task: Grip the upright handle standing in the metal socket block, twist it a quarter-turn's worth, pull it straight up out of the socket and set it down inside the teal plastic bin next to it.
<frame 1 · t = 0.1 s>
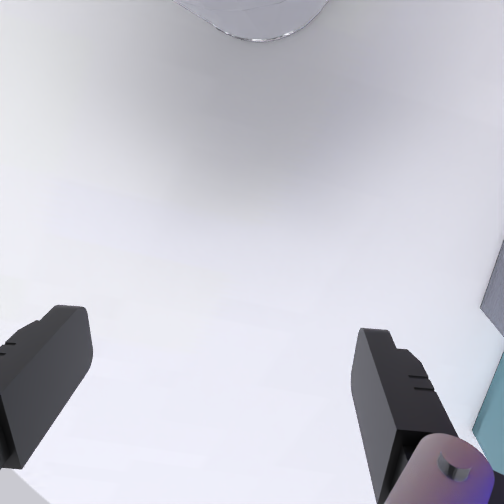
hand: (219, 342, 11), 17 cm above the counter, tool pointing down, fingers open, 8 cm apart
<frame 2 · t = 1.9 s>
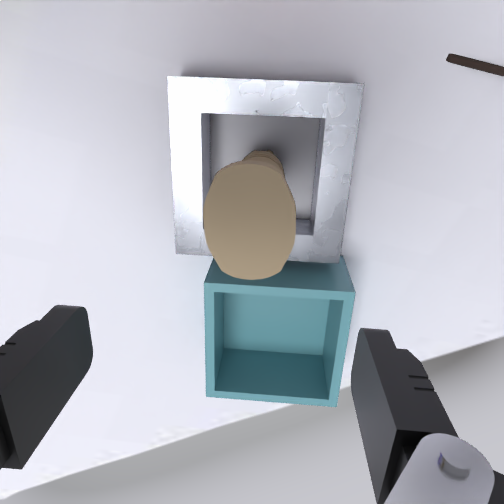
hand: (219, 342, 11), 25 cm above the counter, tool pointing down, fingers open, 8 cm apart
bin: (275, 305, 40), on the counter
socket block: (262, 167, 34), on the counter
handle: (262, 166, 34), resting in socket block
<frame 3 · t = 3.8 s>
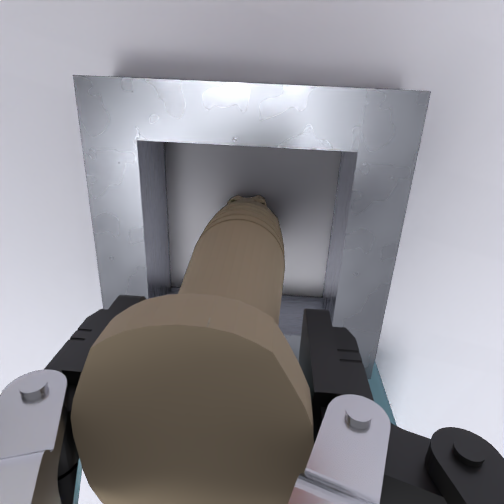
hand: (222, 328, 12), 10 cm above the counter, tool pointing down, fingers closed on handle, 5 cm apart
bin: (269, 412, 27), on the counter
socket block: (248, 220, 22), on the counter
handle: (249, 218, 22), resting in socket block, touching gripper
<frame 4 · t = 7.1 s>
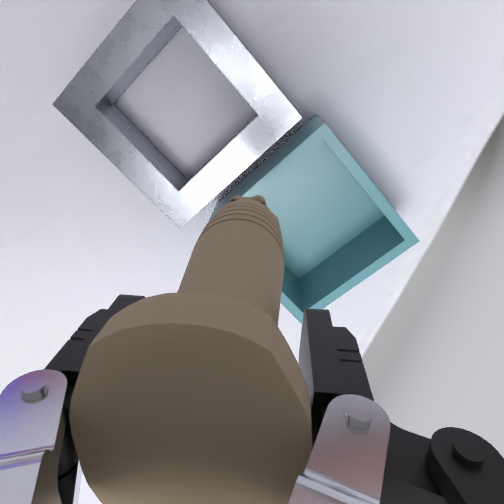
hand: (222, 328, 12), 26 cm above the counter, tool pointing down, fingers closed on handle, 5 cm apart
bin: (305, 207, 37), on the counter
socket block: (186, 107, 34), on the counter
handle: (249, 218, 22), point 15 cm above the counter, touching gripper
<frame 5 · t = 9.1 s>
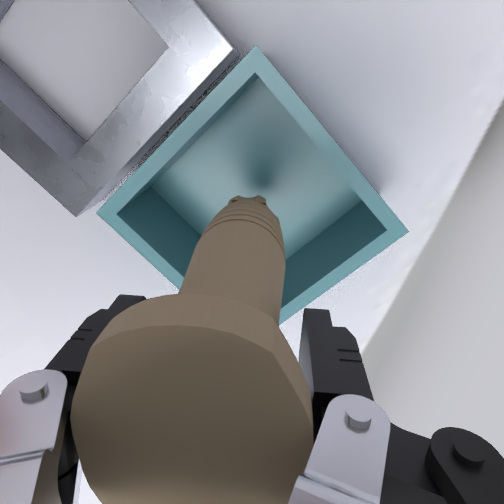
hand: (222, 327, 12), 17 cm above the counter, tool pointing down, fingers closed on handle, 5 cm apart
bin: (256, 189, 27), on the counter
socket block: (84, 48, 25), on the counter
handle: (249, 219, 22), point 6 cm above the counter, touching gripper
when the fingers open (13 cm above the counter, at t = 10.7 s): handle drops 2 cm, resting on bin.
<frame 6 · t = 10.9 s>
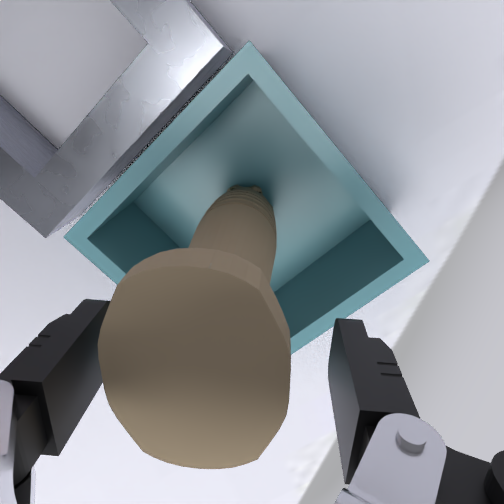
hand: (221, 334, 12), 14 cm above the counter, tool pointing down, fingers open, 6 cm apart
bin: (252, 205, 24), on the counter
socket block: (55, 45, 21), on the counter
handle: (246, 207, 24), point 1 cm above the counter, touching bin
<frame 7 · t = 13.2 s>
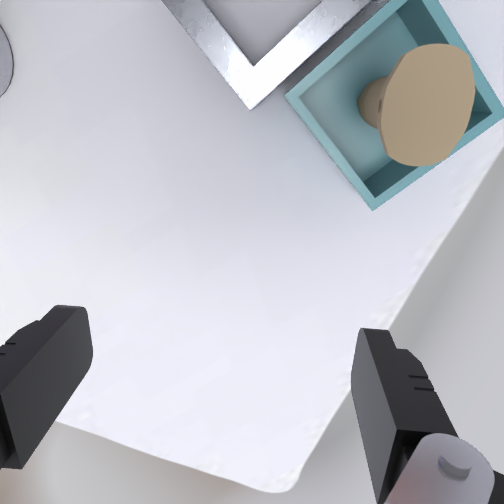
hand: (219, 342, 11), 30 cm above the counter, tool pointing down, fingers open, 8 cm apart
bin: (375, 102, 36), on the counter
handle: (373, 102, 36), point 1 cm above the counter, touching bin
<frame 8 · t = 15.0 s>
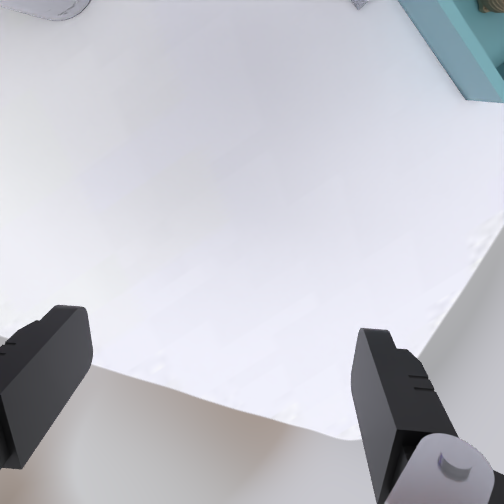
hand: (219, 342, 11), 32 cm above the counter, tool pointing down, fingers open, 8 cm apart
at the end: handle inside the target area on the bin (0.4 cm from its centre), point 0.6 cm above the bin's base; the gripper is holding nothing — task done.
